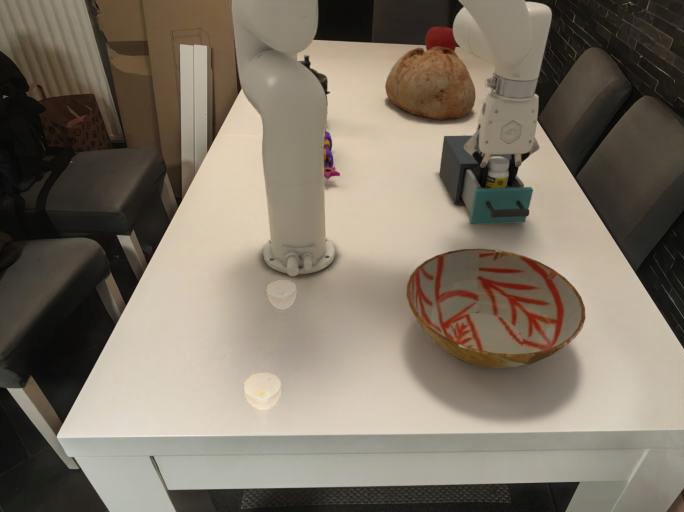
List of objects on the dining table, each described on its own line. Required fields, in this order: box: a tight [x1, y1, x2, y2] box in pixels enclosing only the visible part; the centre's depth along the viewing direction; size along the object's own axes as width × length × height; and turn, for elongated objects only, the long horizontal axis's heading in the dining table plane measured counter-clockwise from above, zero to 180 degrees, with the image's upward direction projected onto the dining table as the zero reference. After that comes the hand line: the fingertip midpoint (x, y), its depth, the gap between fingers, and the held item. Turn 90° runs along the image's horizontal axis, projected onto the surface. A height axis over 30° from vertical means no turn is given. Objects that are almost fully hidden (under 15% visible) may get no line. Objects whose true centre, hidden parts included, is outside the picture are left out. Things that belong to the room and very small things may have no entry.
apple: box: [424, 26, 458, 52], centre depth 188 cm, size 11×11×12 cm
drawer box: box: [439, 134, 520, 205], centre depth 117 cm, size 14×12×9 cm
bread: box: [384, 46, 476, 121], centre depth 153 cm, size 26×23×15 cm
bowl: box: [406, 248, 586, 369], centre depth 80 cm, size 25×25×8 cm
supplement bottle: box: [481, 156, 510, 189], centre depth 107 cm, size 5×5×8 cm
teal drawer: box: [460, 168, 534, 225], centre depth 108 cm, size 18×11×7 cm, turn 8°
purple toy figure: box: [324, 130, 341, 180], centre depth 122 cm, size 14×25×12 cm, turn 5°
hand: (494, 182), depth 107 cm, fingers closed on supplement bottle, 4 cm apart
